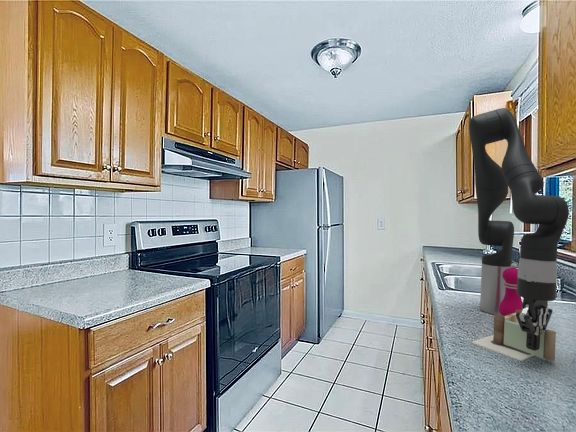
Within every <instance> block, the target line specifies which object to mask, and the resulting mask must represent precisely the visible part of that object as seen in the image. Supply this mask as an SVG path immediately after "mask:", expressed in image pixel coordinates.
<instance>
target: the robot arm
mask: <svg viewBox="0 0 576 432" xmlns="http://www.w3.org/2000/svg"><path fill="white" fill-rule="evenodd" d="M468 133H469V138H470V139H469V140H470V144H471V145H470V146H471V149H472V150H471V152H472V157H473V167H474V184H475V195H476V203H477V216H478V217H477V220H478V222H477V227H478V228H477V230H478V240H479V243H480V244H482V245H485V246H493V247H494V246H495V247H501V249H500V250H498V251H496V252H494V253H493V252H492V253H489V254H485V255H483V256H482V258H481V274H480V296H479V298H480V299H479V301H480V302H479V310H480V311H482V312H484V313H487V314H491V315H501V314H500V312H499V306H500V303H501V302H502V300H503V298H504V296H505V287H504V282H505V280H504V279H503V276H502V274H503V271H504V270H505V269H507V268H511V264H512V263H513V246H514V238H515V226H514V223H513V222H512V221H510V220H509V221H508V220H491V219H490V218H491V216H492V214H493V213H494V212H495V210H497V209H498V208H499V207H500V206H501V205H502V204H503V202H504V201H505V200H506V199H507V197H508V195H509V190H510V195H511V202H512V205H511V206H512V212H513V214H514V216H515V217H516V219H517V220H518V221H520V222H521V223H523V224H527V225H538V227H537V229H536V231H535V232H533V233H528V234H525V235H523V236H522V237H521V240H520V251H519V260H518V261H519V262H518V264H517V269H518V277H517V294H518V295H519V296H521V298H522V299H523V300H522V302H523V304H522V312H521V313H519V312H517V313H516V318H517V320H518V323H519V325H520V328H521V330H522V331H524V332H526V333H527V339H526V347H527V348H528V349H531V350H534V351H536V350H539V347H540V335H541V334H542V331H545V330H547V327H548V325H549V322H550V320H551V317H552V314H553V309H552V308H549V306H548V305H549V302H554V301H555V300H556V299H557V285H558V266H557V262H558V261H557V260H558V259H557V258H558V244H559V241H560V240H561V237H562V235H563V232H564V229H565V227H566V225H567V223H568V218H569V216H570V215H569V214H570V208H569V206H568V205H569V204H568V203H567V201H566V200H565V199H564V198H562V197H560V196H557V195H546V194H545V195H543V194H537V193H540V191H542V189H543V188H544V184H545V183H544V179H543V178H542V176H541V174H540V172H539V171H538V169H537V168H536V166H535V164H534V163H533V161H532V159H531V157H530V155H529V153H528V150H527V148H526V145H525V142H524V140H523V136H522V134H521V132H520V129H519V126H518V124H517V121H516V119H515V117H514V115H513V113H512V112H511V111H510V110H509V109H508V108H506V107H500V108H497V109H493V110H489V111H486V112H483V113H479V114H477V115H474V116H472V117H471V118H470V119H469V123H468ZM503 140H506V142H507V148H506V151H505V154H504V157H503V159H502V163H501V165H499V164H498V163H497V162H496V161H495V160H493V159H492V157H491V156H490V155H489V154H488V152H487V149H486V145H489V144H493V143H497V142H500V141H503Z"/></svg>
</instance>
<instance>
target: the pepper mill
mask: <svg viewBox="0 0 576 432" xmlns="http://www.w3.org/2000/svg"><path fill="white" fill-rule="evenodd" d="M502 276H503V279H504V280H505V282H504V287H505V296H504V298H503V300H502V302H501V303H500V306H499V312H500V314H501V315H502V316H506V315H510V314H513V313H515V312H516V310H522V304H523V300H522V296H519V295H518V294H517V277H518V264H517V263H516V262H512V264H511V268H507V269H505V270H504V271H503V274H502Z"/></svg>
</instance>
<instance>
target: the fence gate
mask: <svg viewBox="0 0 576 432" xmlns="http://www.w3.org/2000/svg"><path fill="white" fill-rule="evenodd" d="M556 336H557V333H556V331H554V330H551V329H546V330H545V331H543V330H542V334H541V335H540V347H539V350H536V351H534V350H531V349H528V348H527V347H526V339H527V333H526V332H524V331H522V330H521V328H520V325H519V324H518V323H514V322H511V321H505V323H504V344H505V345H508V346H511V347H514V348H516V349H519V350H522V351H525V352H528V353H531V354H533V355H534V356H537V357H539V358H542V359H545V360H547V361H550V362H555V359H556V341H557V340H556V338H557V337H556Z"/></svg>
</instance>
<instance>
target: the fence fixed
mask: <svg viewBox="0 0 576 432" xmlns="http://www.w3.org/2000/svg"><path fill="white" fill-rule="evenodd" d="M517 312H519V313H521V312H522V310H516V312H515V313H513V314H510V315H506V316H502V315H496V314H493V315H494V316H493V317H494V318H493V335H494V336H493V342H494V343H495V344H499V345H504V323H505V321H511V322H514V323H518V320H517V318H516V313H517ZM518 324H519V323H518Z"/></svg>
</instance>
